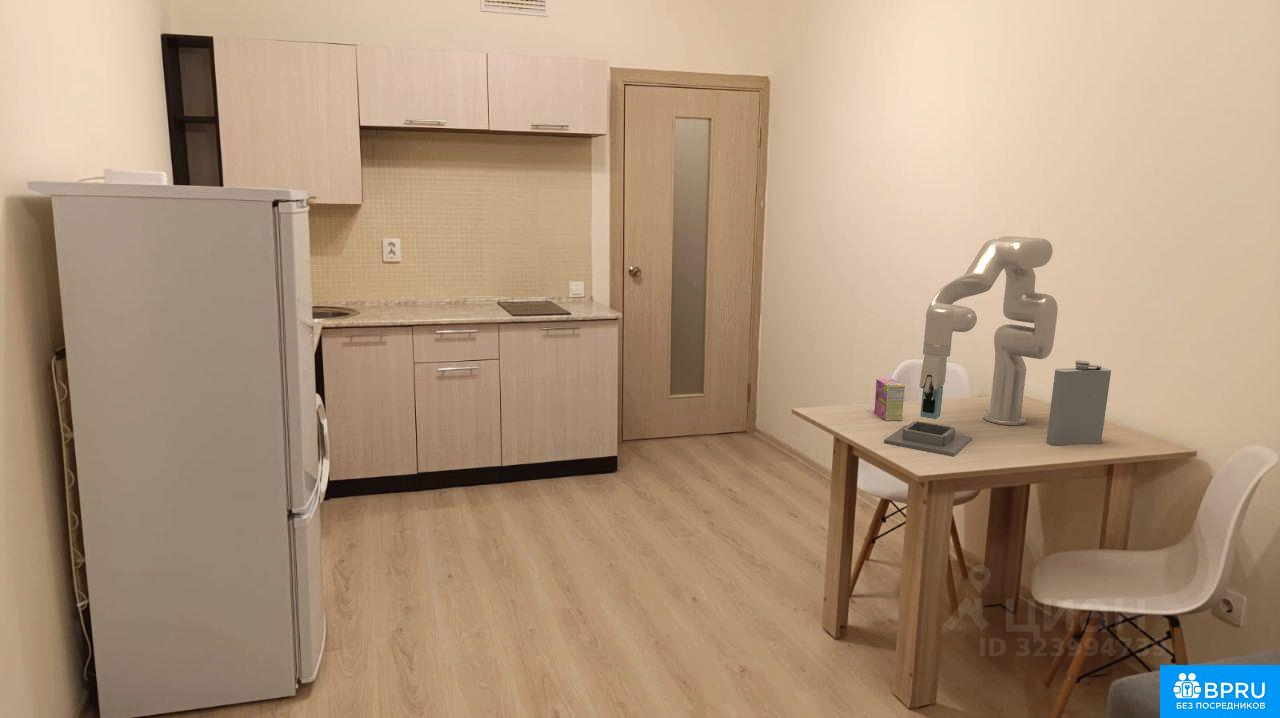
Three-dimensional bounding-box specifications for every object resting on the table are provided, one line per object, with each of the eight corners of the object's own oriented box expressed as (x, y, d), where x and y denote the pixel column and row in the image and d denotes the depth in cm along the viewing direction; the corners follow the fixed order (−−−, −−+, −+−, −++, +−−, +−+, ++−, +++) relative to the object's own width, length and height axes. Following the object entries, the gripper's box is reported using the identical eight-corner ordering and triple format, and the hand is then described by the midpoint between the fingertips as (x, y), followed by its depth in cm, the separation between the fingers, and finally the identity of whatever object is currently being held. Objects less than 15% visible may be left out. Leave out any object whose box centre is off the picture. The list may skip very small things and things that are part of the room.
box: (873, 412, 281) (876, 378, 279) (890, 412, 282) (893, 378, 279) (884, 421, 271) (887, 385, 269) (902, 421, 272) (905, 385, 269)
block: (924, 413, 251) (927, 384, 249) (940, 416, 249) (943, 386, 247) (920, 416, 247) (923, 386, 246) (935, 419, 245) (938, 389, 243)
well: (905, 428, 263) (906, 415, 262) (971, 440, 252) (972, 427, 251) (883, 443, 247) (884, 429, 246) (953, 456, 236) (955, 442, 235)
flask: (1092, 439, 256) (1103, 358, 251) (1103, 443, 251) (1114, 362, 246) (1041, 441, 253) (1051, 359, 248) (1051, 446, 248) (1062, 363, 243)
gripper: (932, 344, 253) (926, 403, 257) (914, 352, 239) (909, 414, 243) (957, 347, 249) (951, 407, 252) (941, 355, 235) (935, 418, 239)
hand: (930, 410), depth 248 cm, fingers closed on block, 4 cm apart
